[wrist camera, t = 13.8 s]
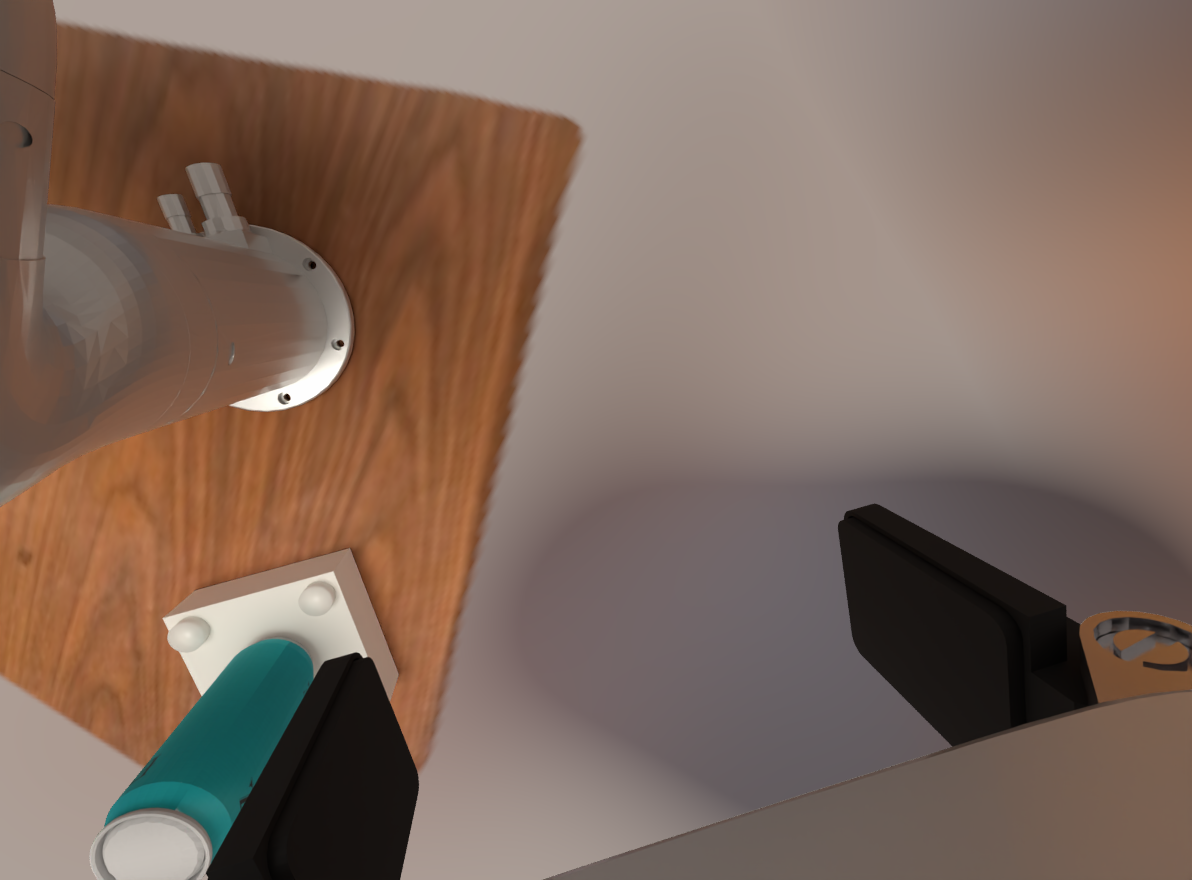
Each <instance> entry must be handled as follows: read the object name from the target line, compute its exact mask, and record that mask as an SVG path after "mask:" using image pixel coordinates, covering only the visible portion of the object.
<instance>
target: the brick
mask: <svg viewBox="0 0 1192 880" xmlns="http://www.w3.org/2000/svg"><path fill="white" fill-rule="evenodd" d="M163 620H164V622H165V624H166V626H167V628H168V630H169V633H168V642H169V644H170V646H171V647H172V648H174V649H175V650H177V651H179V652H180V654H181V656H182V658H183V660H184V662H185V664H186V666H187V668H188V670H189V672H190V674H191V676H192V678H193V680H194V682H195V684H196V686H197V688H198V690H199V692H200V694H201V696H203V694H204V693H205V692H206V691H207V690H208V688H209V687H210V686H211V685H212V683H213V682H214V681H215V680H216V679H217V677H218V676H219V675H220V674H221V672H222V671H223V670H224V669H225V667H226V666H227V665H228V664H229V663H230V661H231V660H232V659H233V658H234V657H235V656H236V655H237V654H238V653H239V652H240V651H242V650H243V649H245V648H247V647H249V646H251V645H253V644H255V643H257V642H260V641H262V640H264V639H268V638H272V637H284V638H289V639H292V640H295V641H297V642H299V643H300V644H302V645H303V646H304V647H305V648H306V649H307V650H308V651H309V653H310V655H311V657H312V661H313V669H314V678H315V676H316V674H317V672H318V670H319V669H320V667H321V665H322V664H323V663H324V661H327V660H330V659H334V658H337V657H341V656H344V655H348V654H351V653H355V652H357V653H360V654H361V656H362V657H363V658H366V657H370V658H371V659H372V660H373V662H374V664H375V666H376V668H377V671H378V673H379V676H380V679H381V681H382V684H383V686H384V689H385V691H386V694H387V696H388V699H389V701H390V700H391V697H392V694H393V691H394V688H395V685H396V682H397V679H398V676H399V674H398V671H397V668H396V666H395V663H394V661H393V658H392V655H391V653H390V650H389V648H388V645H387V643H386V640H385V637H384V635H383V632H382V630H381V627H380V624H379V622H378V619H377V617H376V614H375V612H374V609H373V606H372V604H371V601H370V599H369V596H368V593H367V591H366V588H365V586H364V583H363V581H362V578H361V575H360V573H359V570H358V568H357V565H356V563H355V560H354V557H353V555H352V552H351V550H350V548H348V549H345V550H341V551H337V552H334V553H330V554H326V555H323V556H319V557H315V558H312V559H308V560H304V561H301V562H297V563H293V564H290V565H286V566H282V567H279V568H275V569H271V570H268V571H264V572H260V573H257V574H253V575H250V576H246V577H242V578H239V579H235V580H231V581H228V582H224V583H220V584H217V585H213V586H209V587H206V588H202V589H198V590H195V591H194V592H193V593H191V594H190V595H189V596H188V597H187V598H186V599H184V600H183V601H182V602H181V603H180V604H179V605H178V606H176V607H175V608H174V609H173V610H172V611H171V612H169V613H168V614H167V615H166V616H165V617H164V618H163Z"/></svg>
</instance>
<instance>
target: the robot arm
mask: <svg viewBox="0 0 1192 880" xmlns="http://www.w3.org/2000/svg"><path fill="white" fill-rule="evenodd" d="M56 71H57V26H56V17H55V9H54V5H53V0H0V507H1V506H3V505H4V504H6V503H8V502H9V501H11V500H12V499H14V498H15V497H17V496H19V495H20V494H22V493H23V492H25V491H26V490H28V489H29V488H31V487H32V486H34V485H35V484H36V483H38V482H39V481H41V480H42V479H44V478H45V477H47V476H48V475H50V474H51V473H53V472H54V471H56V470H57V469H59V468H60V467H62V466H64V465H65V464H67V463H69V462H71V461H72V460H74V459H76V458H78V457H80V456H82V455H84V454H87V453H89V452H92V451H94V450H96V449H99V448H101V447H103V446H106V445H109V444H112V443H114V442H117V441H120V440H123V439H126V438H129V437H132V436H135V435H138V434H141V433H144V432H147V431H151V430H154V429H157V428H160V427H163V426H166V425H169V424H172V423H175V422H178V421H181V420H184V419H188V418H191V417H194V416H197V415H200V414H203V413H206V412H209V411H212V410H215V409H218V408H221V407H225V406H228V405H229V406H231V407H235V408H240V409H244V410H248V411H260V412H271V411H280V410H287V409H290V408H293V407H296V406H300V405H302V404H305V403H307V402H309V401H311V400H313V399H315V398H316V397H318V396H319V395H321V394H322V393H324V392H325V391H327V390H328V389H329V388H330V387H331V386H332V385H333V384H334V383H335V382H336V381H337V380H338V378H339V377H340V375H341V373H342V372H343V370H344V369H345V367H346V366H347V363H348V360H349V358H350V355H351V352H352V349H353V342H354V336H355V329H354V315H353V311H352V307H351V303H350V299H349V297H348V295H347V293H346V290H345V288H344V286H343V284H342V282H341V281H340V279H339V278H338V276H337V275H336V273H335V272H334V270H333V269H332V268H331V267H330V265H329V264H328V263H327V262H326V261H325V260H324V259H323V258H322V257H321V256H320V255H319V254H318V253H316V252H315V251H314V250H312V249H311V248H310V247H308V246H307V245H305V244H304V243H303V242H301V241H299V240H297V239H295V238H293V237H291V236H289V235H287V234H285V233H282V232H278V231H276V230H273V229H270V228H265V227H260V226H255V225H248V222H247V219H246V218H245V217H241V216H238V214H237V212H236V209H235V206H234V204H233V201H232V199H231V197H232V194H231V191H230V189H229V186H228V183H227V181H226V178H225V176H224V173H223V170H222V168H221V165H219V164H217V163H197V164H192V165H189V166H187V167H186V168H185V170H186V173H187V175H188V178H189V180H190V183H191V186H192V188H193V191H194V193H195V196H196V198H197V199H198V200H199V201H200V204H201V206H202V209H203V211H204V214H205V216H206V219H207V220H206V221H204V222H203V223H202V226H203V228H204V231H203V232H200V233H196V230H195V228H194V225H193V223H192V220H191V214H190V212H189V209H188V207H187V204H186V202H185V199H184V197H183V196H182V195H180V194H167V195H162V196H159V197H158V198H157V200H158V203H159V205H160V207H161V210H162V212H163V215H164V217H165V219H166V220H167V221H168V224H169V226H170V229H167V228H162V227H158V226H154V225H150V224H145V223H141V222H137V221H133V220H128V219H124V218H120V217H116V216H111V215H107V214H103V213H98V212H94V211H89V210H85V209H80V208H76V207H69V206H62V205H53V204H47V200H48V188H49V175H50V163H51V150H52V138H53V125H54V113H55V101H54V97H55V84H56ZM311 262H315V263H316V268H315V269H312V268H311V265H310V264H311ZM339 340H342V341H343V342H344V346H343V347H340V346H339V345H338V341H339ZM286 394H289V395H290V397H291V400H288V399H287V398H286ZM838 532H839V539H840V547H841V555H842V562H843V570H844V578H845V584H846V593H847V600H848V608H849V615H850V623H851V630H852V637H853V640H854V643H855V645H856V647H857V649H858V651H859V652H860V654H861V655H862V656H863V657H864V658H865V659H866V660H867V661H868V662H869V663H870V664H871V665H872V666H873V667H874V668H875V669H876V670H877V671H878V672H879V673H880V674H881V675H882V676H883V677H884V678H885V679H886V680H887V681H888V682H889V683H890V684H891V685H892V686H893V687H894V688H895V689H896V690H897V691H898V692H899V693H900V694H901V695H902V696H903V697H904V698H905V699H906V700H907V701H908V702H909V703H910V704H911V705H912V706H913V707H914V708H915V709H916V710H917V711H918V712H919V713H920V714H921V715H922V716H923V717H924V718H925V719H926V720H927V721H928V722H929V723H930V724H931V725H932V726H933V727H934V728H935V729H936V730H937V731H938V732H939V733H940V734H941V735H942V736H943V737H944V738H945V739H946V740H947V741H948V742H949V743H950V744H951V746H952V747H950V748H947V749H944V750H941V751H938V752H935V753H931V754H928V755H926V756H922V757H919V758H916V759H913V760H909V761H906V762H903V763H900V764H897V765H894V766H891V767H888V768H885V769H881V770H878V771H875V772H872V773H869V774H866V775H863V776H860V777H856V778H853V779H850V780H847V781H844V782H840V783H837V784H835V785H831V786H828V787H825V788H822V789H818V790H815V791H812V792H809V793H806V794H803V795H800V796H797V797H793V798H791V799H787V800H784V801H781V802H778V803H775V804H772V805H769V806H766V807H763V808H760V809H757V810H753V811H750V812H747V813H744V814H741V815H738V816H735V817H732V818H729V819H726V820H723V821H720V822H716V823H713V824H710V825H707V826H705V827H701V828H698V829H695V830H692V831H689V832H686V833H683V834H680V835H677V836H674V837H671V838H668V839H664V840H662V841H658V842H655V843H653V844H649V845H646V846H643V847H640V848H637V849H634V850H631V851H628V852H625V853H622V854H619V855H616V856H612V857H609V858H607V859H603V860H600V861H597V862H594V863H591V864H588V865H586V866H582V867H579V868H576V869H573V870H570V871H567V872H564V873H561V874H558V875H556V876H552V877H549V878H546V879H543V880H1192V626H1191V625H1189V624H1186V623H1184V622H1181V621H1179V620H1175V619H1172V618H1168V617H1165V616H1161V615H1157V614H1150V613H1144V612H1137V611H1111V612H1104V613H1098V614H1096V615H1093V616H1091V617H1088V618H1086V620H1085V621H1084V622H1083V623H1082V624H1079V623H1077V622H1075V621H1073V620H1072V619H1070V618H1068V617H1066V605H1064V604H1062V603H1060V602H1058V601H1057V600H1055V599H1053V598H1051V597H1049V596H1047V595H1046V594H1044V593H1042V592H1040V591H1038V590H1036V589H1034V588H1032V587H1031V586H1028V585H1027V584H1025V583H1023V582H1021V581H1020V580H1018V579H1016V578H1014V577H1012V576H1010V575H1008V574H1007V573H1005V572H1003V571H1001V570H999V569H997V568H995V567H994V566H991V565H990V564H988V563H986V562H984V561H982V560H980V559H979V558H977V557H975V556H973V555H971V554H969V553H968V552H966V551H964V550H962V549H960V548H958V547H956V546H954V545H953V544H951V543H949V542H947V541H945V540H943V539H941V538H940V537H938V536H936V535H934V534H932V533H930V532H928V531H926V530H925V529H923V528H921V527H919V526H917V525H915V524H914V523H912V522H910V521H908V520H906V519H904V518H902V517H901V516H899V515H897V514H895V513H893V512H891V511H889V510H888V509H886V508H884V507H882V506H880V505H878V504H871V505H868V506H864V507H861V508H857V509H854V510H850V511H847V512H846V513H845V516H844V520H842V521H840V522H839V524H838ZM418 790H419V780H418V773H417V770H416V767H415V764H414V762H413V759H412V757H411V754H410V752H409V749H408V746H407V744H406V741H405V739H404V736H403V734H402V731H401V729H400V726H399V724H398V721H397V719H396V716H395V714H394V711H393V709H392V706H391V704H390V701H389V699H388V696H387V694H386V691H385V689H384V686H383V684H382V681H381V679H380V676H379V673H378V671H377V668H376V666H375V664H374V662H373V660H372V659H371V658H370V657H366V658H363V657H362V656H361V654H360V653H357V652H355V653H351V654H348V655H344V656H341V657H337V658H334V659H330V660H327V661H324V663H323V664H322V665H321V667H320V669H319V670H318V672H317V674H316V676H315V678H314V679H313V681H312V683H311V685H310V687H309V688H308V690H307V692H306V694H305V696H304V697H303V699H302V701H301V703H300V705H299V706H298V708H297V710H296V712H295V713H294V715H293V717H292V719H291V721H290V722H289V724H288V726H287V728H286V730H285V731H284V733H283V735H282V737H281V739H280V740H279V742H278V744H277V746H276V748H275V749H274V751H273V753H272V755H271V757H270V758H269V760H268V762H267V764H266V765H265V767H264V769H263V771H262V773H261V774H260V776H259V778H258V780H257V782H256V783H255V785H254V787H253V789H252V791H251V792H250V794H249V796H248V798H247V800H246V801H245V803H244V805H243V807H242V809H241V810H240V812H239V814H238V816H237V817H236V819H235V821H234V823H233V825H232V826H231V828H230V830H229V832H228V834H227V835H226V837H225V839H224V841H223V843H222V844H221V846H220V848H219V850H218V852H217V853H216V855H215V857H214V859H213V861H212V862H211V864H210V866H209V868H208V869H207V871H206V874H207V876H208V880H400V877H401V872H402V868H403V863H404V859H405V854H406V849H407V844H408V839H409V834H410V830H411V825H412V820H413V815H414V810H415V806H416V801H417V796H418Z"/></svg>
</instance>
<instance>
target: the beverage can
mask: <svg viewBox="0 0 1192 880" xmlns="http://www.w3.org/2000/svg"><path fill="white" fill-rule="evenodd" d="M313 679H314V669H313V661H312V657H311V655H310V653H309V651H308V650H307V649H306V648H305V647H304V646H303V645H302V644H300V643H299V642H297V641H295V640H292V639H289V638H284V637H272V638H268V639H264V640H262V641H260V642H257V643H255V644H253V645H251V646H249V647H247V648H245V649H243V650H242V651H240V652H239V653H238V654H237V655H236V656H235V657H234V658H233V659H232V660H231V661H230V663H229V664H228V665H227V666H226V667H225V669H224V670H223V671H222V672H221V674H220V675H219V676H218V677H217V679H216V680H215V681H214V682H213V683H212V685H211V686H210V687H209V688H208V690H207V691H206V692H205V693H204V694H203V696H202V697H201V698H200V699H199V701H198V702H197V703H196V704H195V706H194V707H193V708H192V709H191V710H190V712H189V713H188V714H187V715H186V717H185V718H184V719H183V720H182V721H181V723H180V724H179V725H178V726H177V728H176V729H175V730H174V731H173V733H172V734H171V735H170V736H169V737H168V739H167V740H166V741H165V742H164V744H163V745H162V746H161V747H160V748H159V750H158V751H157V752H156V753H155V755H154V756H153V757H152V758H151V760H150V761H149V762H148V763H147V764H146V766H145V767H144V768H143V769H142V771H141V772H140V773H139V774H138V775H137V777H136V778H135V779H134V780H133V782H132V783H131V784H130V785H129V787H128V788H127V789H126V790H125V791H124V793H123V794H122V795H121V796H120V798H119V799H118V800H117V801H116V803H115V804H114V805H113V806H112V808H111V809H110V811H109V813H108V815H107V818H106V822H105V825H104V828H103V829H102V830H101V831H100V833H98V835H97V837H96V838H95V840H94V842H93V844H92V847H91V850H90V865H91V868H92V871H93V873H94V875H95V876H96V878H97V879H98V880H201V879H202V878H203V877H204V876H205V874H206V871H207V869H208V868H209V866H210V864H211V862H212V861H213V859H214V857H215V855H216V853H217V852H218V850H219V848H220V846H221V844H222V843H223V841H224V839H225V837H226V835H227V834H228V832H229V830H230V828H231V826H232V825H233V823H234V821H235V819H236V817H237V816H238V814H239V812H240V810H241V809H242V807H243V805H244V803H245V801H246V800H247V798H248V796H249V794H250V792H251V791H252V789H253V787H254V785H255V783H256V782H257V780H258V778H259V776H260V774H261V773H262V771H263V769H264V767H265V765H266V764H267V762H268V760H269V758H270V757H271V755H272V753H273V751H274V749H275V748H276V746H277V744H278V742H279V740H280V739H281V737H282V735H283V733H284V731H285V730H286V728H287V726H288V724H289V722H290V721H291V719H292V717H293V715H294V713H295V712H296V710H297V708H298V706H299V705H300V703H301V701H302V699H303V697H304V696H305V694H306V692H307V690H308V688H309V687H310V685H311V683H312V681H313Z"/></svg>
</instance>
